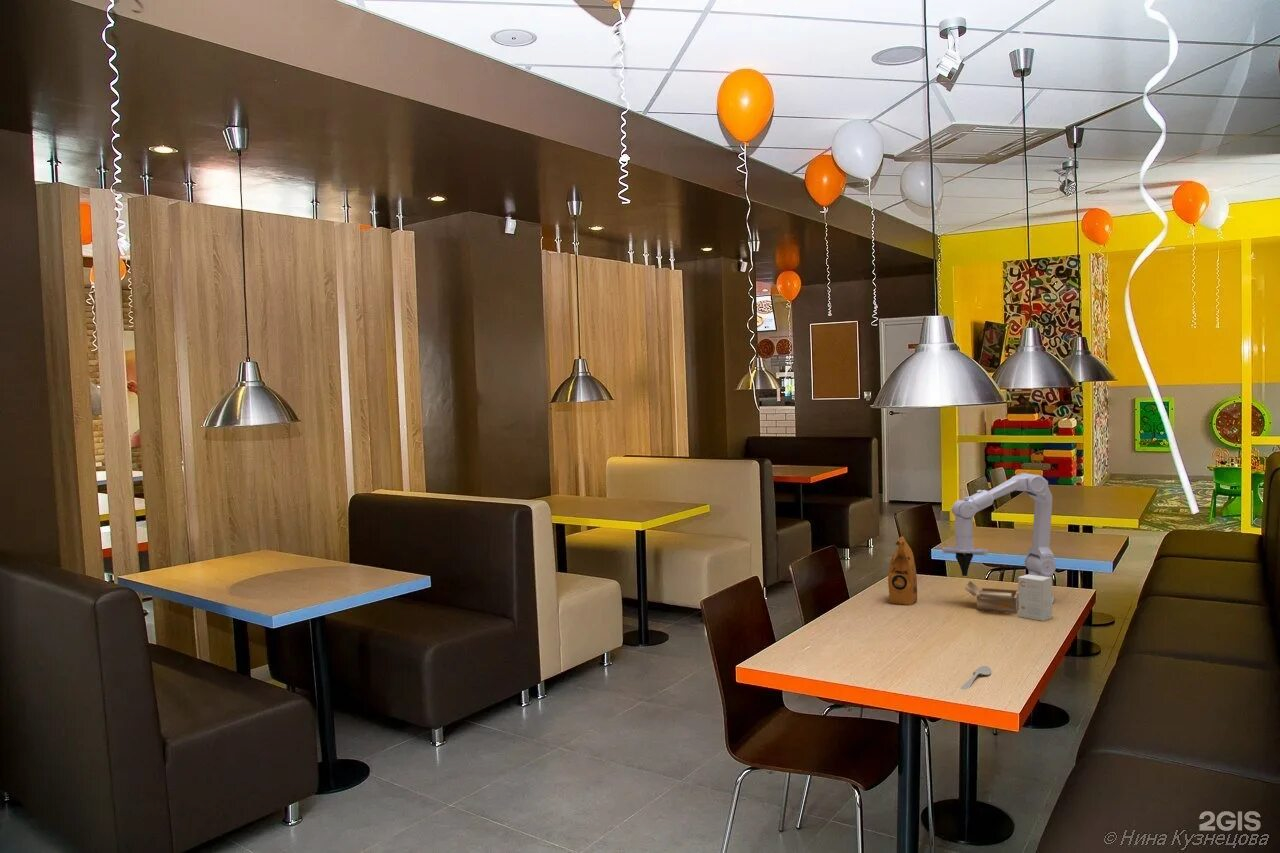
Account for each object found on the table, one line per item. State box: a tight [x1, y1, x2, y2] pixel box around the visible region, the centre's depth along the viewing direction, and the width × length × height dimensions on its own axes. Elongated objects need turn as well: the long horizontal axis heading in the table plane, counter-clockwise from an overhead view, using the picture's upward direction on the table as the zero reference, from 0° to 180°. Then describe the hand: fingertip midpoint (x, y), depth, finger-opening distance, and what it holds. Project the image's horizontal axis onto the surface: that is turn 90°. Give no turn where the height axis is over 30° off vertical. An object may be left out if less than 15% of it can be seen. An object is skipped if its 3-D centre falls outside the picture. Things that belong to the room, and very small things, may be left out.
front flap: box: [979, 590, 1012, 601], centre depth 285 cm, size 4×10×1 cm
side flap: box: [964, 580, 981, 597], centre depth 296 cm, size 4×10×1 cm
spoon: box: [960, 665, 992, 691], centre depth 220 cm, size 4×21×2 cm, turn 140°
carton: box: [976, 587, 1019, 614], centre depth 292 cm, size 12×12×5 cm
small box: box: [1017, 573, 1053, 622], centre depth 278 cm, size 8×6×13 cm
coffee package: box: [887, 535, 918, 606], centre depth 305 cm, size 10×12×22 cm
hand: (964, 575), depth 297 cm, fingers closed
